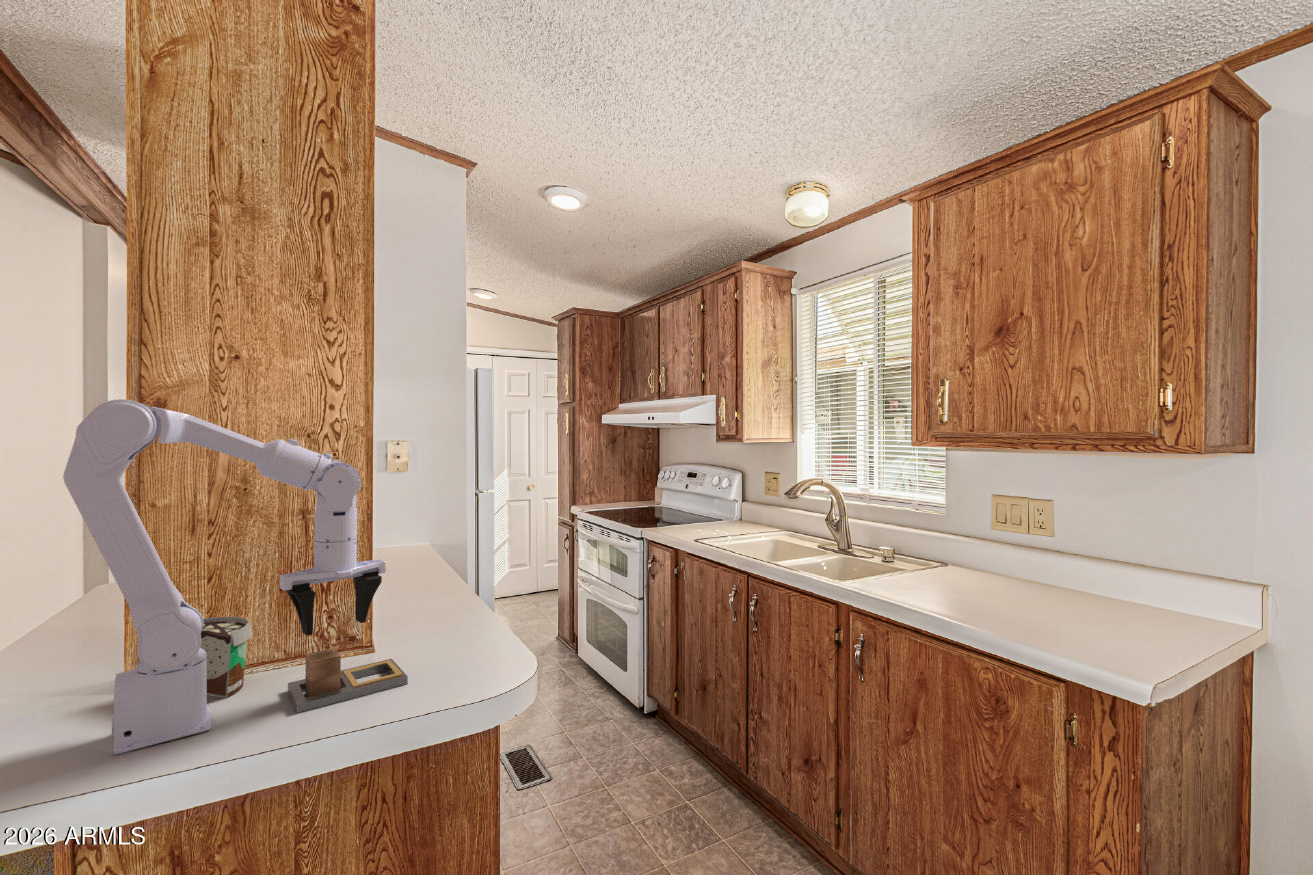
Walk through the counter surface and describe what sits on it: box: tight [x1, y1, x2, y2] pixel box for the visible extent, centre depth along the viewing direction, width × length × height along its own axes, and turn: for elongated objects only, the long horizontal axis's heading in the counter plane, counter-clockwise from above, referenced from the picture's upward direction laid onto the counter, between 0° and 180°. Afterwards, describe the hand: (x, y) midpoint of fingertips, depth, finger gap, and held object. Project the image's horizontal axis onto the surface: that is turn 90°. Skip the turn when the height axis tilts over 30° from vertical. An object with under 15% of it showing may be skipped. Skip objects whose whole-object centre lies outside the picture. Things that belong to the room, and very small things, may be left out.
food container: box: [200, 616, 254, 699], centre depth 90 cm, size 12×6×10 cm, turn 74°
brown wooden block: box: [305, 647, 342, 697], centre depth 87 cm, size 4×4×6 cm
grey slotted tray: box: [287, 658, 409, 714], centre depth 89 cm, size 15×9×1 cm, turn 130°
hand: (334, 627), depth 88 cm, fingers open, 7 cm apart
